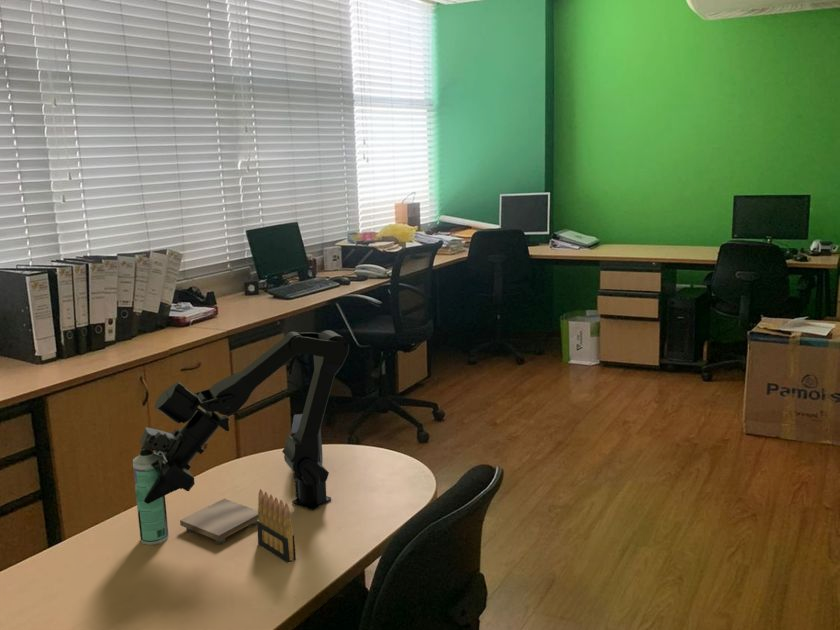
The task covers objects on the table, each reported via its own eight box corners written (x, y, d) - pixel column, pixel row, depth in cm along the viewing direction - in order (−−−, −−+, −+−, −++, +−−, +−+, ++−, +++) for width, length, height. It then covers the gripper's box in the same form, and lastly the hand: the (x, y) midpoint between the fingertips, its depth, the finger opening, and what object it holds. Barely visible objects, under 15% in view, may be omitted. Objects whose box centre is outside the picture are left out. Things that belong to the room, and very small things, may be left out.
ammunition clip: (296, 559, 151) (293, 502, 149) (288, 563, 150) (285, 506, 147) (265, 540, 159) (262, 486, 156) (257, 544, 157) (254, 489, 155)
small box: (295, 457, 200) (293, 413, 198) (322, 456, 201) (320, 412, 199) (293, 479, 188) (290, 432, 185) (321, 477, 188) (319, 430, 186)
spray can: (173, 532, 163) (164, 442, 158) (162, 545, 157) (152, 453, 153) (147, 531, 163) (138, 441, 159) (136, 544, 158) (126, 452, 154)
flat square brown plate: (263, 522, 166) (262, 512, 166) (219, 546, 157) (218, 535, 156) (225, 508, 173) (224, 498, 172) (181, 531, 163) (179, 520, 163)
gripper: (154, 401, 165) (104, 460, 162) (172, 428, 148) (116, 494, 146) (195, 429, 170) (147, 487, 167) (216, 458, 154) (164, 523, 151)
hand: (143, 496), depth 158 cm, fingers closed on spray can, 5 cm apart
